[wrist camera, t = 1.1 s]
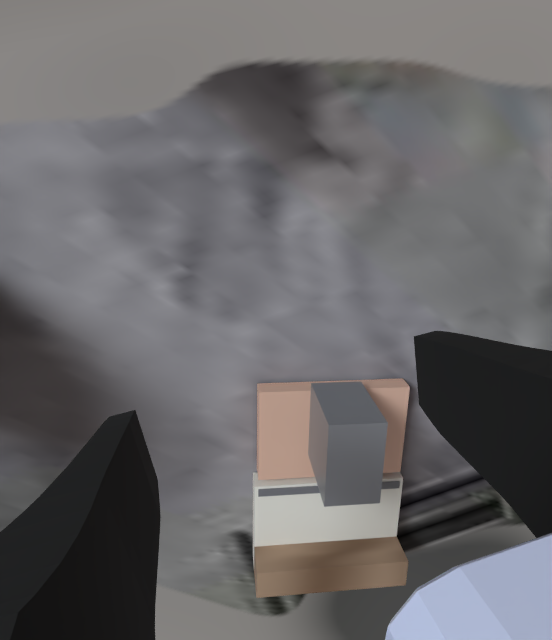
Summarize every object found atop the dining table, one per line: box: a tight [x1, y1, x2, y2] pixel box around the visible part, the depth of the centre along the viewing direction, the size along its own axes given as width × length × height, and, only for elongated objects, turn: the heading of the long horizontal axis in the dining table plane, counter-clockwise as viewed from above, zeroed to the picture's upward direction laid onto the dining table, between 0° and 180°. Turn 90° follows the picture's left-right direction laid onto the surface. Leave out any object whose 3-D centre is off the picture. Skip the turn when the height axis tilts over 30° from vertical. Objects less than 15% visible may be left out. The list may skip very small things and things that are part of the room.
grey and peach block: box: [257, 379, 410, 507], centre depth 23 cm, size 8×5×5 cm
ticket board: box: [253, 472, 408, 598], centre depth 26 cm, size 8×6×3 cm
